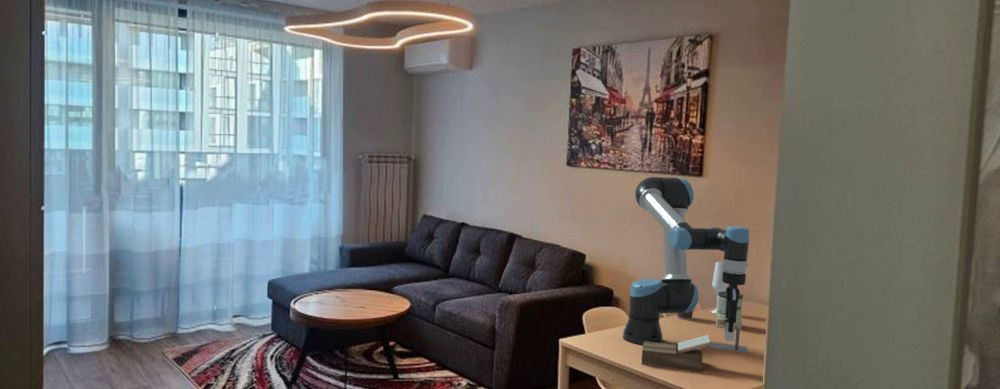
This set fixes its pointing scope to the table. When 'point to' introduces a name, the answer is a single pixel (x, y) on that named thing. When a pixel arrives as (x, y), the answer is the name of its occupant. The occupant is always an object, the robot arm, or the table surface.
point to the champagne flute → (718, 280)
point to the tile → (694, 344)
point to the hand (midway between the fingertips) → (728, 339)
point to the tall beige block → (738, 324)
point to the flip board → (671, 356)
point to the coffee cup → (685, 315)
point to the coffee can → (722, 305)
